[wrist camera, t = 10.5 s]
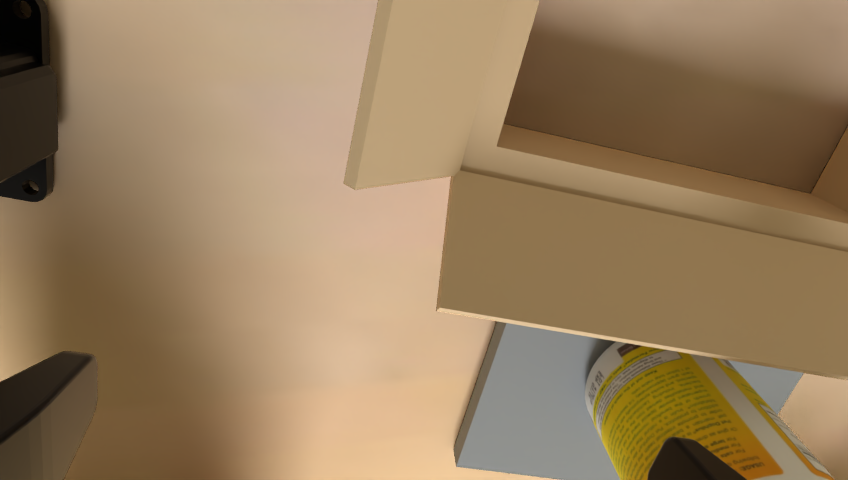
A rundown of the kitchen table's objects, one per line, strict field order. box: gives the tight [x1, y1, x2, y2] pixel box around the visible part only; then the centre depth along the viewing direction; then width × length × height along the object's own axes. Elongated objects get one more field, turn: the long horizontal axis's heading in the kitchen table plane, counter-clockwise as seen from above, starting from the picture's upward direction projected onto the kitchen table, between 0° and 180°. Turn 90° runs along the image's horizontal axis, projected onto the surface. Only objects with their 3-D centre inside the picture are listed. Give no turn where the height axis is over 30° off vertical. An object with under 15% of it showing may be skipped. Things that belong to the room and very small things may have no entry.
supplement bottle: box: [585, 341, 835, 480], centre depth 18 cm, size 6×6×10 cm
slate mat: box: [454, 321, 803, 480], centre depth 23 cm, size 13×12×1 cm
